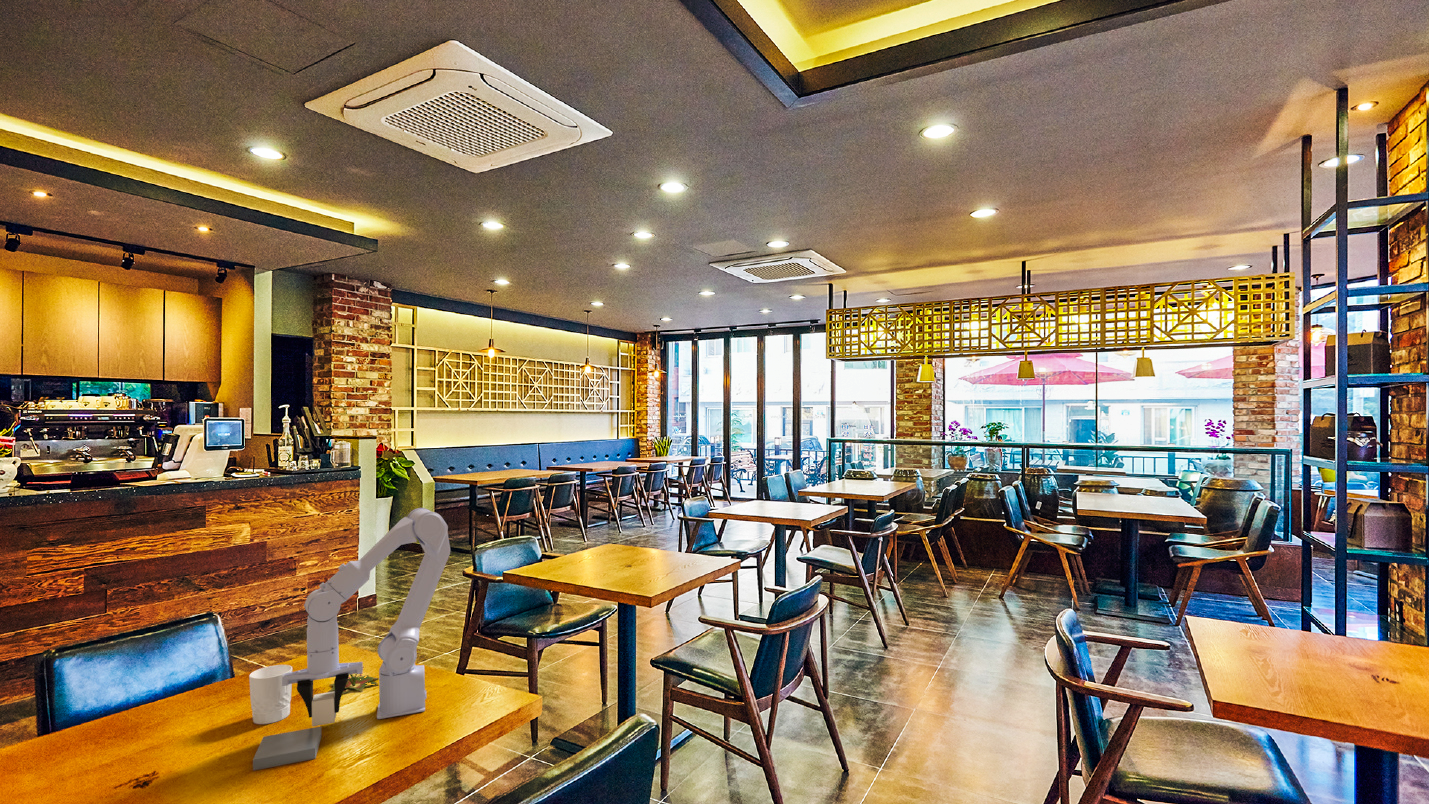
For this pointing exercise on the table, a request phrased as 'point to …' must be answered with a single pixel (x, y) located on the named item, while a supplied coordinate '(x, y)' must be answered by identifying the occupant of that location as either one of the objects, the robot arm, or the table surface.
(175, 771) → the table surface
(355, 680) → the lily flower
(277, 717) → the white cup
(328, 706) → the cream block
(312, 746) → the slate tile
